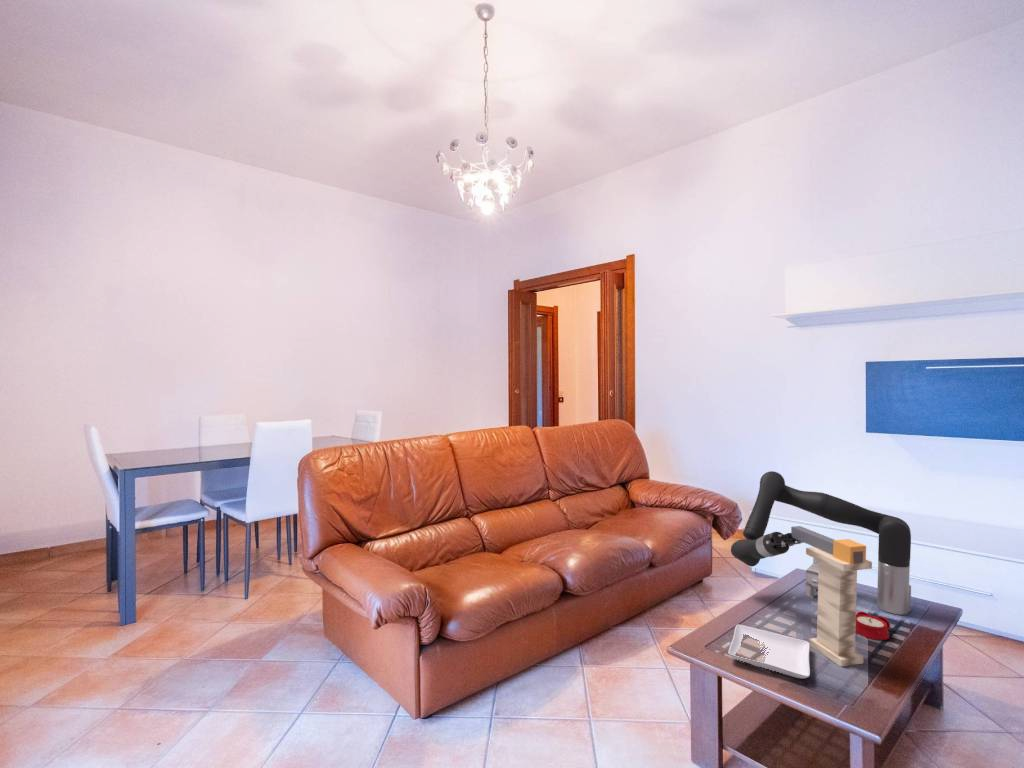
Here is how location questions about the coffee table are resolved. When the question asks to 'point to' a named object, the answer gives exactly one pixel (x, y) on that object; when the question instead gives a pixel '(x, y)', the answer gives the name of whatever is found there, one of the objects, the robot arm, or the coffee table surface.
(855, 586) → the stand
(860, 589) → the coffee table surface
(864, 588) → the coffee table surface
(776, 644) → the salad plate
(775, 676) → the coffee table surface
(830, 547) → the orange-tipped gray rod
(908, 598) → the robot arm
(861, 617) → the alarm clock
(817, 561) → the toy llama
